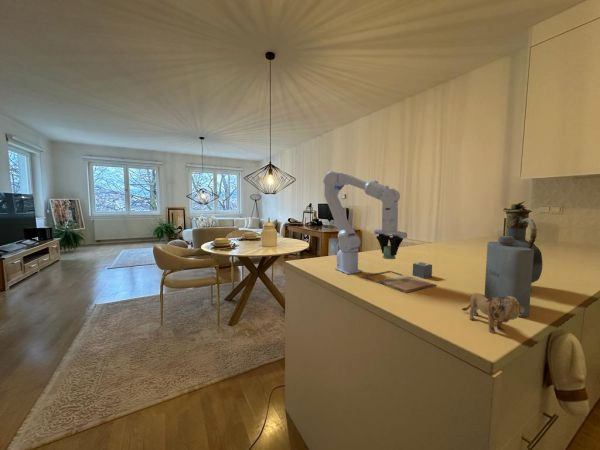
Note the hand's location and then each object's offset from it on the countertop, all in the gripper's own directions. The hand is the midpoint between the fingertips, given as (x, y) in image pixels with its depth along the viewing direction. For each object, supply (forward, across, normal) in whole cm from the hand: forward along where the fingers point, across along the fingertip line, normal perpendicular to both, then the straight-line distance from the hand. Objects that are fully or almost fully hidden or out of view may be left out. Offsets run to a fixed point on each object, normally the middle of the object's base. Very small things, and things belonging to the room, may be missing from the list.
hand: (389, 254), depth 97 cm
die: (+10, +5, +14) cm, 18 cm away
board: (+10, +5, 0) cm, 11 cm away
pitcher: (+10, +30, +28) cm, 42 cm away
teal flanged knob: (+1, 0, 0) cm, 1 cm away
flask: (+10, +35, +8) cm, 37 cm away
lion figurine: (+10, +39, -9) cm, 41 cm away
